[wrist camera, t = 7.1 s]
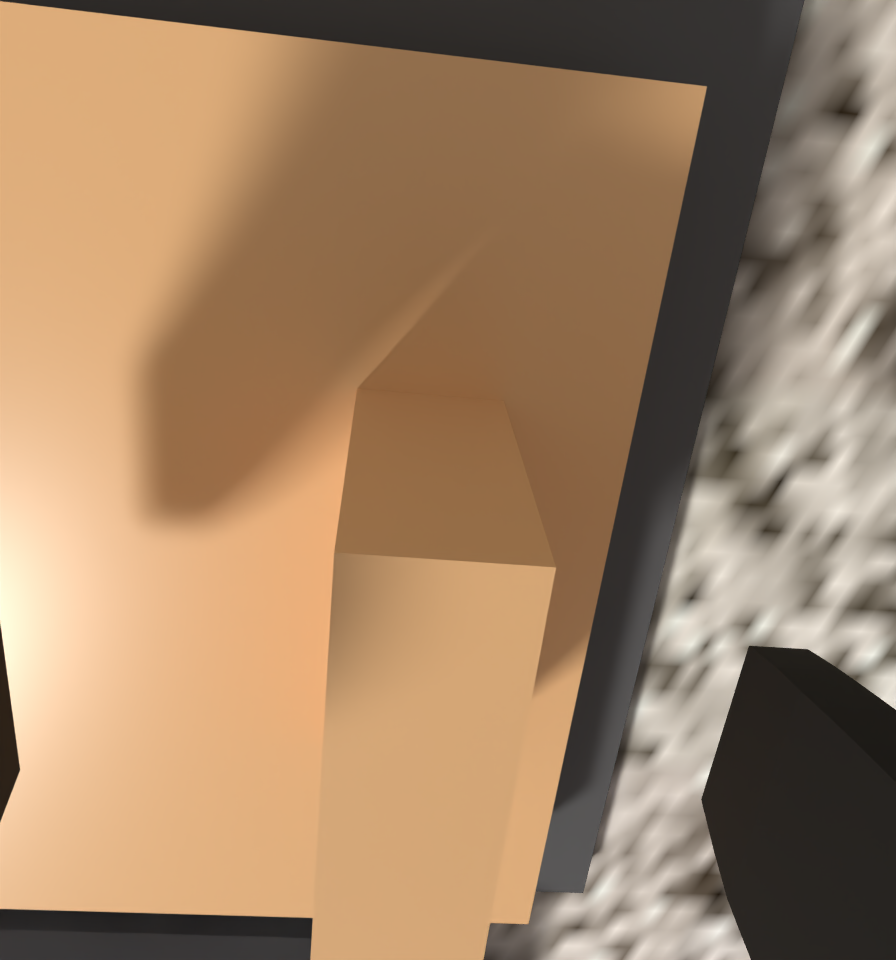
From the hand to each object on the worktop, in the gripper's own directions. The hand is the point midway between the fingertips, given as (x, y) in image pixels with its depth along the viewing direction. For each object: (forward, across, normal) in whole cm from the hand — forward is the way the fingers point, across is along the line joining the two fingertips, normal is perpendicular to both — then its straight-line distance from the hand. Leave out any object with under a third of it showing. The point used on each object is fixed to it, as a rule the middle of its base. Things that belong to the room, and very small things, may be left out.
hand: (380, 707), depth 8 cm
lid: (+3, +6, 0) cm, 6 cm away
